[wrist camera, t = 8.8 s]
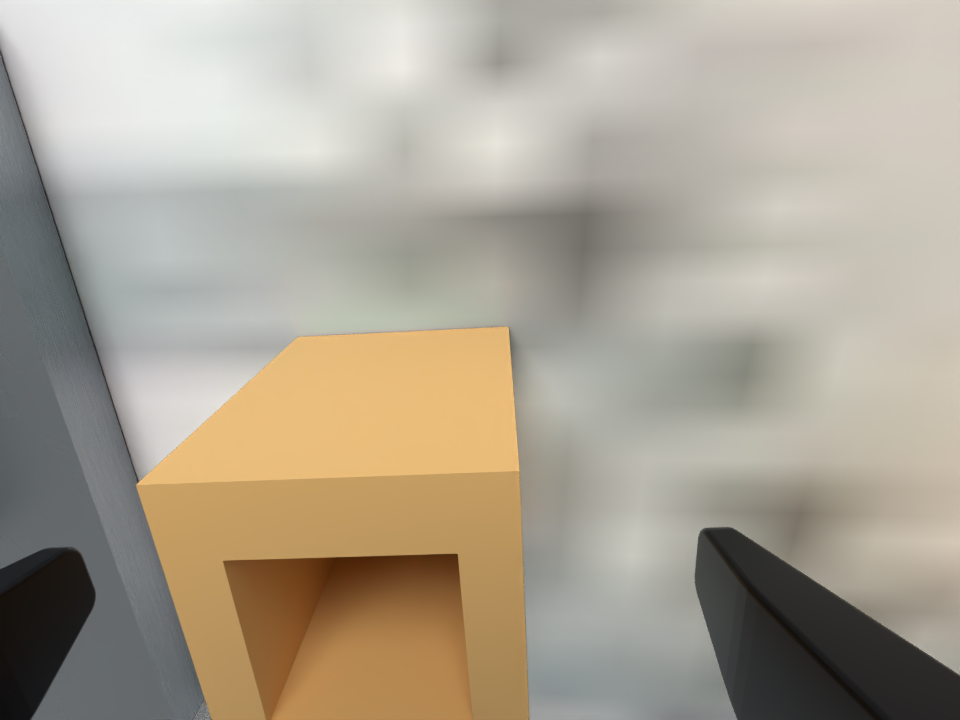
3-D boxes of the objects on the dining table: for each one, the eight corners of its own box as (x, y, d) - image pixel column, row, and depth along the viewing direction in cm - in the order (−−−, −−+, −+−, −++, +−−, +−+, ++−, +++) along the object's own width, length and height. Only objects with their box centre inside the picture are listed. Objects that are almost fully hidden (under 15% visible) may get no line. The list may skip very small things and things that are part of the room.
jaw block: (517, 530, 12) (531, 777, 7) (334, 536, 12) (231, 780, 7) (508, 326, 10) (519, 470, 6) (297, 336, 10) (135, 484, 6)
